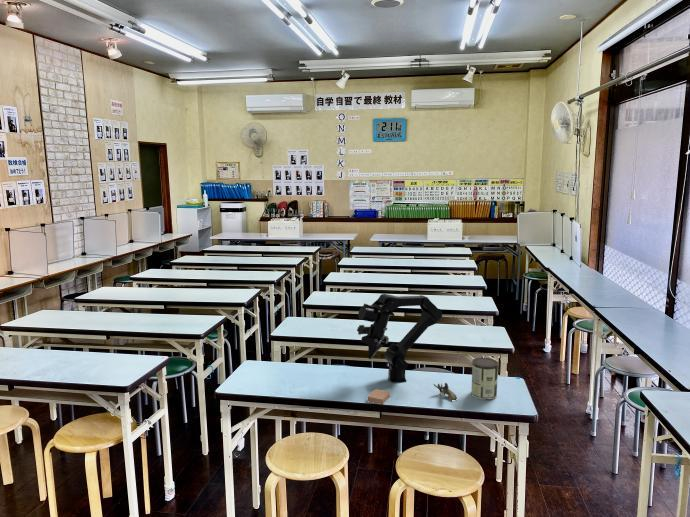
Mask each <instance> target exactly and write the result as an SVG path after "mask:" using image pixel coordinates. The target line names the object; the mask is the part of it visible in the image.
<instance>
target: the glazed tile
mask: <svg viewBox="0 0 690 517" xmlns="http://www.w3.org/2000/svg"><path fill="white" fill-rule="evenodd" d="M390 398H391V391H388V390H382V389H377V388H375V389H373V390H372V391H371V393H369V394H368V395H367V401H369V403H372V402H374V403H373V404H377V403H380V404H379V405H382V404H383V403H384V402H385V401H386V400H389V399H390ZM386 402H387V401H386ZM386 402H385V403H386ZM385 403H384V404H385ZM384 404H383V405H384Z"/></svg>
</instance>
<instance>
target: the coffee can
mask: <svg viewBox="0 0 690 517" xmlns="http://www.w3.org/2000/svg"><path fill="white" fill-rule="evenodd" d="M471 363H472V366H471V370H472V371H471V392H470V393H471V396H472V395H473V396H472V397H474V396H475V397H477V398H476V399H478V398H481V399H480V400H482V399H492V400H495V399H496V398H497V396H498V374H499V372H498V371H499V361H497V360H495V359H493V358H491V357H490V358H489V357H475V358H473V359H472V362H471ZM475 397H474V398H475ZM494 398H495V399H494Z"/></svg>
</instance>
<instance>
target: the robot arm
mask: <svg viewBox="0 0 690 517" xmlns="http://www.w3.org/2000/svg"><path fill="white" fill-rule="evenodd" d="M415 306H416V307H419V308H420V309H421V314H420V318H419V320H418V321H417V322H416V323H415V324H414V325H413V327H411V329H409V331H408V332H407V333H406V335H404V337H402V339H401V340H400V341H399V342H398V343H397V344H395V343H394V342H392V343H391V344H390V345H389V347H387V348H386V349H385V352H384V359H385V361H387V364H388V365H389V368H388V379H389V380H390V382H392V383H401V382H402V383H403V382H407V379H406V370H407V369H408V366H409V362H407V361H406V360H405V359H406V357H407V353H408V351H409V349H410V348H411V347H412V346H413V345H414V344H415V343H416V341H417V340H418V339H419V338H420V337H422V335H423V333H424V332H425V331H427V329H428V328H429V327H432V326H433V325H434V326H435V325H436V324H437V323H439V321H441V320H442V318H443V311H442V310H441V309H440V308H438V307H437V306H436V305H435V304H434V303H433V302H432V301H431V300H430V298H429V297H427V296H425V295H422V294H420V295H409V296H407V295H405V296H403V295H401V296H400V295H399V296H398V295H397V296H396V295H393V294H389V293H381V294H380V295H379V296H378V298H377V299H376V300H375V301H374V302H373V303H372V304H367V303H363V306H360V308H359V310H358V313H357V314H358V319H359V320H361V321H364V322H365V321H366V322H371V324H370V326H365V325H364V324H359V325H358V327H357V329H356V331H357V334H358V335H359V336H360V335H363V336H362V337H361V338H360V343H363V344H366V345H367V346H368V348H367V350H368V354H367V355H368V356H367V358H368V359H369V360H372V359H373V357H374V356H375V355H376V354H377V352H378V351H379V350H380V349H381V348H382V347H383V346H384V344H388V343H389V341H390V338H389V336H387V335H385V332H386V331H388V323H389V319H390V316H392V317H395V313H394V312H393V310H396V309H398V308H401V307H415ZM381 342H382V343H384V344H382V343H381Z"/></svg>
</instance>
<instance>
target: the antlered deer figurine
mask: <svg viewBox="0 0 690 517" xmlns="http://www.w3.org/2000/svg"><path fill="white" fill-rule="evenodd" d="M433 386H434V387H435V388H436V389H438V390H439V393H440V394H441V397H443V398H444V397H445V395H447V396H448V399H449V402H452V400H456V399H457V400H458V398H457V394H455V393H454V392H453V391H452V390H451V389H449V387H450V385H449V383H448V382H447V381H444V386H443V384H442V383H441V384H440V383H438V384H437V385H436V384H435V383H433ZM457 400H456V401H457Z"/></svg>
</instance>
